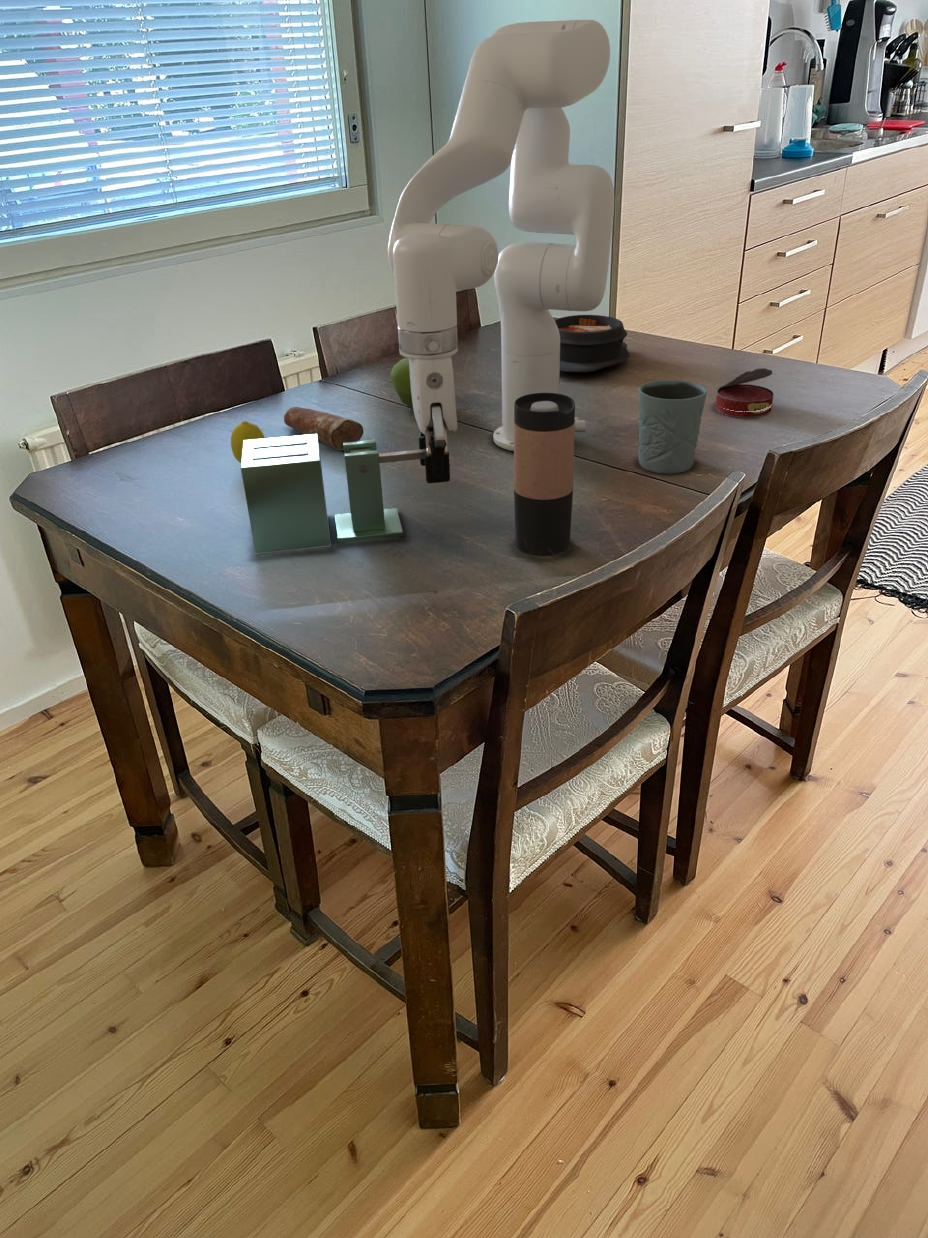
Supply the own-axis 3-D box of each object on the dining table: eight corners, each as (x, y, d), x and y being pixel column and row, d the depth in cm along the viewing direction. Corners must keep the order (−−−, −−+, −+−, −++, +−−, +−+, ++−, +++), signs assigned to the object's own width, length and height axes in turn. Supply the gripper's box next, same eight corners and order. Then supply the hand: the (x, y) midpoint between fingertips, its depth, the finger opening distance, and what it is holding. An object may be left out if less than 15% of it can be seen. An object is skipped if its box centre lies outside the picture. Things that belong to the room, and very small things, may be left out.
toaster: (328, 519, 133) (317, 432, 127) (331, 550, 125) (320, 459, 118) (257, 526, 132) (242, 439, 125) (255, 558, 124) (240, 467, 117)
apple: (432, 394, 181) (429, 343, 175) (460, 408, 173) (459, 355, 168) (383, 406, 176) (379, 353, 171) (410, 420, 168) (407, 366, 163)
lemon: (275, 463, 153) (268, 416, 148) (258, 476, 148) (250, 428, 144) (246, 460, 154) (238, 413, 150) (228, 472, 150) (220, 425, 146)
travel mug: (510, 536, 127) (509, 393, 116) (565, 532, 127) (569, 390, 117) (518, 562, 120) (517, 414, 110) (576, 558, 121) (581, 410, 110)
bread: (336, 457, 154) (332, 425, 151) (279, 429, 167) (275, 399, 164) (368, 447, 157) (364, 416, 154) (310, 420, 170) (306, 391, 167)
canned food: (723, 440, 167) (701, 392, 163) (727, 415, 175) (706, 370, 171) (785, 416, 161) (764, 367, 157) (786, 392, 169) (766, 344, 165)
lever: (437, 453, 129) (436, 436, 127) (443, 467, 124) (442, 450, 123) (351, 462, 127) (349, 445, 126) (353, 477, 123) (351, 460, 121)
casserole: (565, 344, 208) (566, 305, 204) (645, 352, 201) (648, 312, 196) (520, 375, 189) (520, 333, 185) (606, 385, 182) (608, 342, 177)
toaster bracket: (397, 515, 134) (391, 434, 127) (403, 539, 127) (397, 455, 121) (335, 521, 133) (325, 440, 126) (338, 546, 126) (328, 461, 120)
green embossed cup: (628, 471, 145) (633, 396, 138) (640, 448, 153) (645, 376, 147) (693, 478, 142) (701, 401, 135) (703, 454, 150) (710, 381, 143)
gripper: (468, 355, 111) (472, 494, 120) (447, 321, 125) (452, 448, 135) (406, 360, 110) (415, 500, 119) (392, 325, 125) (401, 453, 134)
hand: (434, 471), depth 127 cm, fingers closed on lever, 5 cm apart
